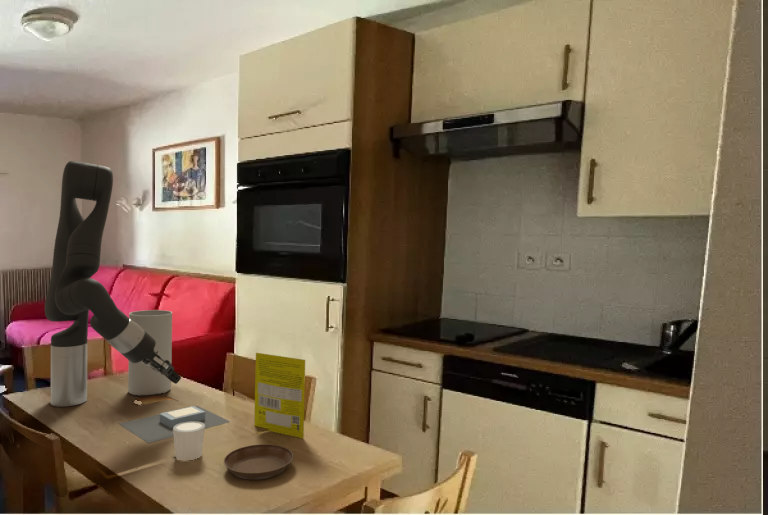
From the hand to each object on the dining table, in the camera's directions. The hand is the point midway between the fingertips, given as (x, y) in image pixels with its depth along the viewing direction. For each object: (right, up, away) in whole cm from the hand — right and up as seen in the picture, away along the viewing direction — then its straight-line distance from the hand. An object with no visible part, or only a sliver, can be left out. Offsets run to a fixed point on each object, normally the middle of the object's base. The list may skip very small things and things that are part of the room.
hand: (177, 380), depth 141 cm
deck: (-2, -10, -2) cm, 11 cm away
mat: (-1, -12, 0) cm, 12 cm away
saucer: (+27, -14, -24) cm, 39 cm away
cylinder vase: (-20, -10, +29) cm, 37 cm away
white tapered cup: (+10, -13, -19) cm, 26 cm away
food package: (+27, -13, -4) cm, 31 cm away
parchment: (-11, -11, +15) cm, 22 cm away
